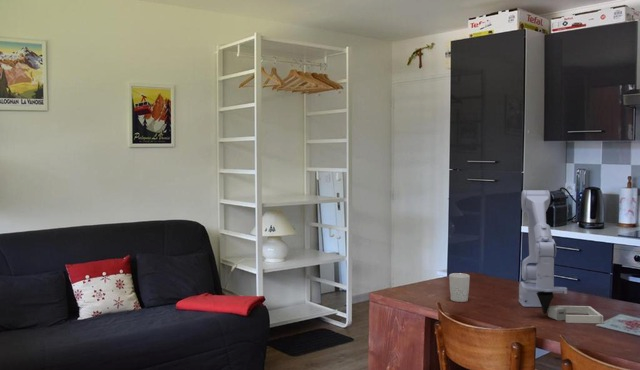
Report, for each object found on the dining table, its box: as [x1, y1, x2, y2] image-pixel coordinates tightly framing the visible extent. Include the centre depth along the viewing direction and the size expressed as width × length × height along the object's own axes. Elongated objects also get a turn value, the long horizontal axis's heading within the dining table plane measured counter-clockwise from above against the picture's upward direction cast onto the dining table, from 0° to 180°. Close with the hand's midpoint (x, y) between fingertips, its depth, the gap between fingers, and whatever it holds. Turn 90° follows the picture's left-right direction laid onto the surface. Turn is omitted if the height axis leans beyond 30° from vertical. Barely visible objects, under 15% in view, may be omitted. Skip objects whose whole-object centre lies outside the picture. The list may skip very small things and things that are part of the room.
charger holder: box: [558, 305, 604, 324], centre depth 203 cm, size 12×13×2 cm
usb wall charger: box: [547, 305, 567, 321], centre depth 203 cm, size 4×7×4 cm, turn 17°
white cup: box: [448, 272, 471, 303], centre depth 229 cm, size 8×8×10 cm
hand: (544, 313), depth 204 cm, fingers closed
